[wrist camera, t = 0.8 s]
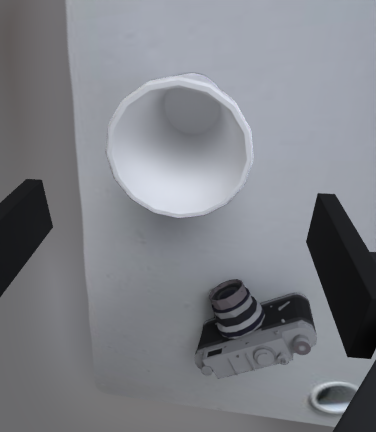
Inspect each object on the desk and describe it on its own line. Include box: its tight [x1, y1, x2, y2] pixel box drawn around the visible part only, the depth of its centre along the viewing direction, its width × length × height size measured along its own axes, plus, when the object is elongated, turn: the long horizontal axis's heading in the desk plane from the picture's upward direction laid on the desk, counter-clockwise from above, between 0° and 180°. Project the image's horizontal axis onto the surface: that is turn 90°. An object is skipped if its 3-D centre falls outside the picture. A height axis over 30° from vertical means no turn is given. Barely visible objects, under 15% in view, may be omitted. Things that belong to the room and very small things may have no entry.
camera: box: [195, 279, 317, 379], centre depth 43 cm, size 16×9×10 cm, turn 119°
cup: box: [106, 73, 254, 218], centre depth 28 cm, size 10×10×13 cm
